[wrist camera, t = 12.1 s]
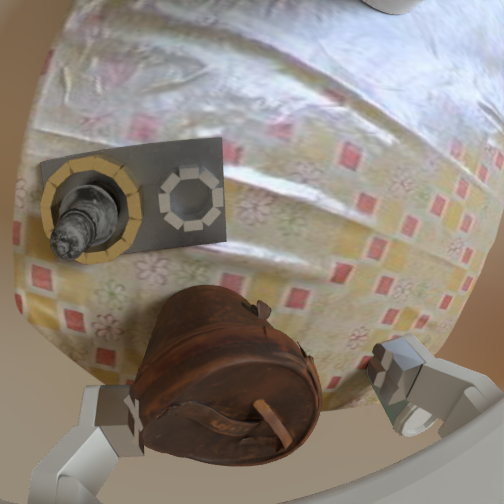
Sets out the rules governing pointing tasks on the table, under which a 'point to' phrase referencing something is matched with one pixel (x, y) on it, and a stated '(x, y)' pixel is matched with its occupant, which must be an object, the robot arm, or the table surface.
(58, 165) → the socket plate
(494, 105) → the table surface
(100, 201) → the stone chess piece
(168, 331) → the case
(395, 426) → the disposable coffee cup
